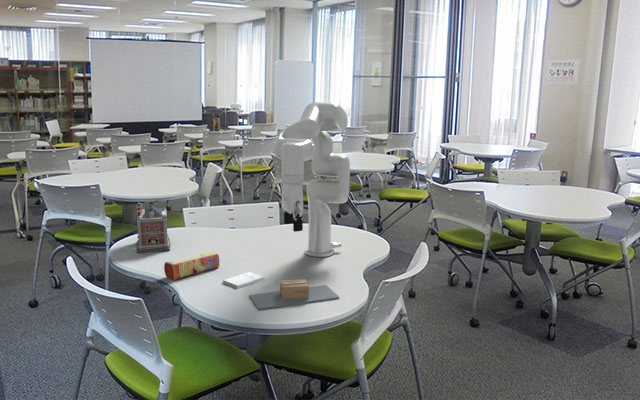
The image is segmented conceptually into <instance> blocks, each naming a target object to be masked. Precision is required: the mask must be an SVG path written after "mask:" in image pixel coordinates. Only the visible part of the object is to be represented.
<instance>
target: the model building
mask: <svg viewBox="0 0 640 400" xmlns="http://www.w3.org/2000/svg"><path fill="white" fill-rule="evenodd" d="M136 205H137V210H136V223H137V225H136V226H137V241H136V249H135V250H136V251H135V252H136V253H135V254H137V253H138V254H149V253H148V252H150V253H158V252H161V251H162V252H170V250H171V239H170V237H169V234H168V219H167V215H168V214H167V207H165V206H164V207H162V208H158V207H155V206H154V202H153V201H150V202H149V207H147V208H145V209H144V208H141V207H142V206H141V202H137V204H136Z"/></svg>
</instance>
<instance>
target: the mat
mask: <svg viewBox="0 0 640 400" xmlns="http://www.w3.org/2000/svg"><path fill="white" fill-rule="evenodd" d="M249 298H250V300H251V301H252V302H253V304H254V305H255V307H256V308H257V309H258V311H262V310H269V309H276V308H283V307H290V306H297V305H303V304H311V303H319V302H325V301H331V300H332V301H333V300H339V299H340V296H339V295H338V294H337V293H336V292H335V291H334V290H333V289H331V288H330V287H329V286H328V285H327V284H321V285H314V286H309V298H308V299H292V300H282V298H281V295H280V290H275V291H270V292H268V291H267V292H261V293H254V294H249Z"/></svg>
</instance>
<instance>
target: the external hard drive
mask: <svg viewBox="0 0 640 400" xmlns="http://www.w3.org/2000/svg"><path fill="white" fill-rule="evenodd" d="M264 279H265V278H264V276H263V275H259V274H256V273H254V272H250V271H248V272H245V273H242V274H239V275H236V276H232V277H229V278H226V279H223V280H222V284H225V285H228V286H230V287H233V288H235V289H241V288H244V287H247V286H250V285H252V284H255V283H258V282H260V281H264Z"/></svg>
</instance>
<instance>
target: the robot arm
mask: <svg viewBox="0 0 640 400" xmlns="http://www.w3.org/2000/svg"><path fill="white" fill-rule="evenodd" d="M348 121H349V120H348V115H347V112H346V111H345V110H344V108H343V107H342V106H341V105H340V104H338V103H336V102H315V101H314V102H311V103H308V104H306V106H305V108H304V110H303V112H302V114H301V116H300V118H299V121H296V122H293V123H292V124H290V125H289V126H287V127H285V128H283V129H282V130H281V131H280V132H279V134H278V136H277V138H276V140H275V144H274V148H273V153H274V156H275V158H277V159H279V160H281V184H282V186H281V204H280V205H281V208H282V210H283V224H284V225H288V224H290V225H291V224H292V227H293V228H292V229H293V230H292V231H293V232H302V231H303V229H304V227H303V226H304V222H303V220H304V192H303V191H304V190H303V184H305V170H304V169H305V167H304V166H305V162H309V161H311V172H312V174H313V175H315V176H318V177H319V176H320V177H331V178H332V177H333V178H337V180H336V179H323V178H321V179H318V178H316V179H312V180H310V181H309V182H307V185H306V198H307V204H308V244H307V245H308V247H306V248H305V249H304V254H306V255H308V256H309V257H315V258H325V257H329V256H333V255H334V254H335V249H337V248H338V249H339V248H342V243H341V242H337V241H335V242H332V211H331V209H330V207H329V206H328V204H344V203H346V202H347V201H348V199H349V195H350V194H349V191H350V180H351V179H350V176H351V175H350V174H351V162H350V161H351V160H350V158H349V156H348V155H347V154H343V153H334V152H333V151H334V141H333V138H332V137H331V135H330V134H329V132H336V133H337V132H338V133H340V132H344V131H345V130H346V129H347V127H348Z"/></svg>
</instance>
